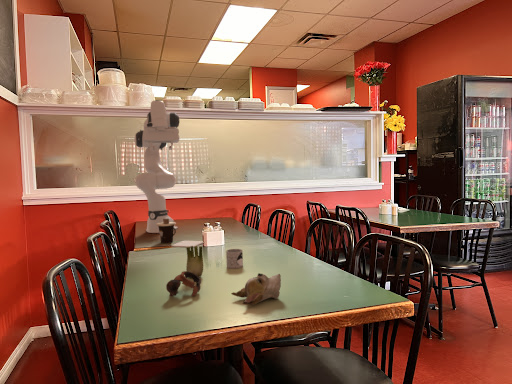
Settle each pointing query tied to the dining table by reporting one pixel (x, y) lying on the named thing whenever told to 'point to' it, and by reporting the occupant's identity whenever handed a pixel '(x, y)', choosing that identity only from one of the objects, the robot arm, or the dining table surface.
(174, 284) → the brown black curved piece
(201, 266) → the fennel bulb
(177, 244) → the grey mat
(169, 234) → the coffee mug
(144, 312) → the dining table surface
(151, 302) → the dining table surface
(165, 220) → the wooden lid
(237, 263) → the mug
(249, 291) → the ceramic sculpture
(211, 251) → the dining table surface
